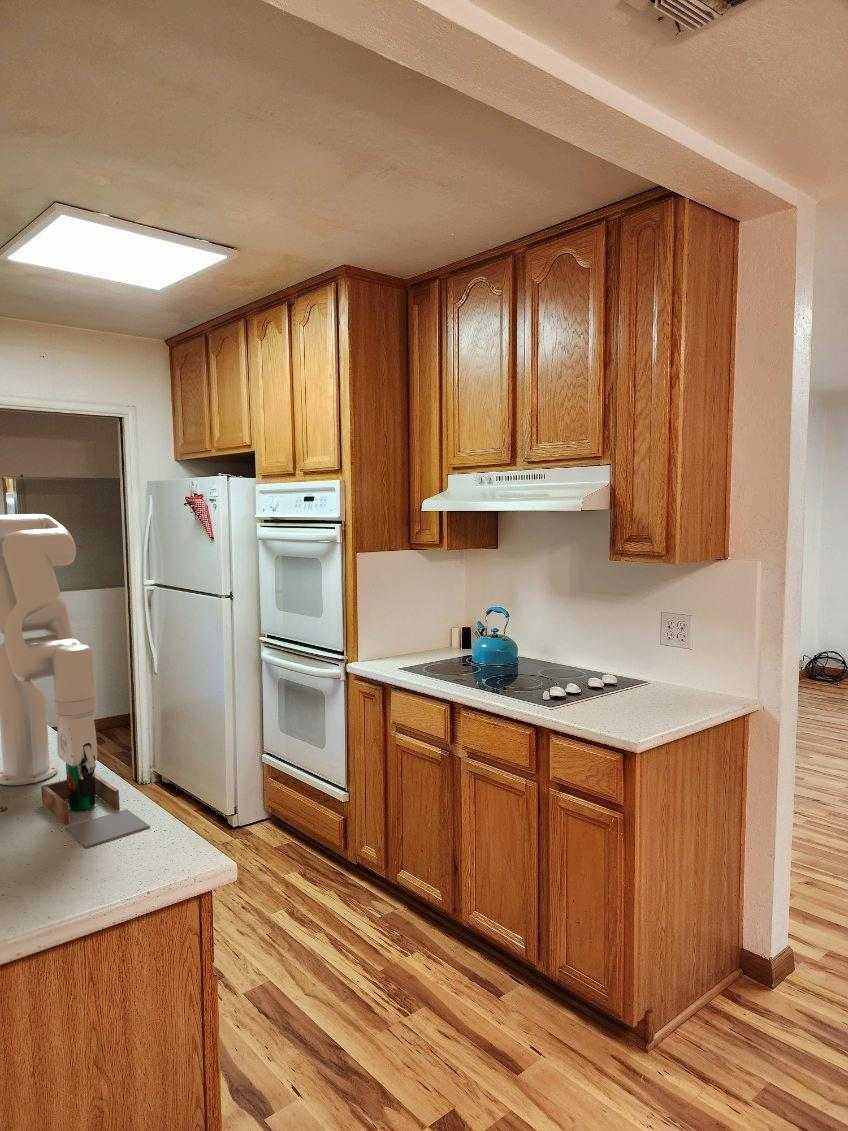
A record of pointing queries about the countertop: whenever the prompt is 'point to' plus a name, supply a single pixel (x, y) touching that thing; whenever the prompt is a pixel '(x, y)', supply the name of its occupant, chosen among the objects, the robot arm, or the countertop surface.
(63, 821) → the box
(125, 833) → the mat
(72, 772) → the soda can
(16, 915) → the countertop surface
